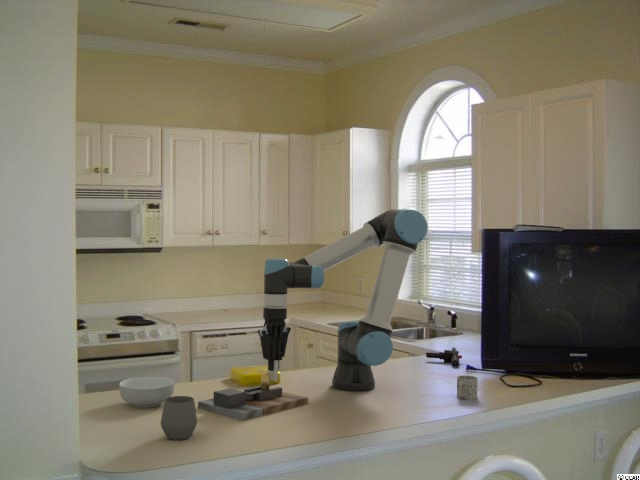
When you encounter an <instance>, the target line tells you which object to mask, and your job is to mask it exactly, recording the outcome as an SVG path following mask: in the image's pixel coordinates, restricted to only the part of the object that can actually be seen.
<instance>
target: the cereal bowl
mask: <svg viewBox="0 0 640 480" xmlns="http://www.w3.org/2000/svg"><path fill="white" fill-rule="evenodd" d="M118 390H119V391H118V392H119V395H120V397H121V399H122V400H123V401H125V402H126V403H128V404H132V405H134V406H135V407H137V408H153V407H158V406H160V404H161V403H164V402H165V399H166V398H169V397H172V395H173V393H174V390H175V380H173V379H172V378H170V377H165V376H139V377H132V378H127V379H124V380H121V381H120V382H119V384H118Z"/></svg>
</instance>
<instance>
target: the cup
mask: <svg viewBox="0 0 640 480" xmlns="http://www.w3.org/2000/svg"><path fill="white" fill-rule="evenodd" d="M197 424H198V418H197V411H196V404H195V398H194V397H191V396H186V395H175V396H171V397H169V398H166V399H165V401H164V402H163V408H162V412H161V420H160V426H161V429H162V431H163V433H164V435H165V436H166V438H167V439H170V440H172V441H173V440H174V441H175V440H176V441H177V440H178V441H181V440H186V439H189V438H191V436H192V435H193V433H194V431H195V429H196V427H197Z"/></svg>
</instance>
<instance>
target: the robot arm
mask: <svg viewBox="0 0 640 480" xmlns="http://www.w3.org/2000/svg"><path fill="white" fill-rule="evenodd" d="M427 234H428V222H427V219H426V217H425V216H424V214H423V213H421V212H420V211H419V210H417V209H414V208H410V207H406V208H398V209H397V208H395V209H393V208H392V209H389V210H385V211H384V212H383V213H381V214H379V215H377V216H375V217H373V218H372V219H370V220H368V221H367V222H364V223H363V225H362V227H361V228H358V229H357V230H355V231H353V232H351V233H349V234H347V235H344V236H343V237H340V238H339V239H337V240H335V241H333V242H331V243H329V244H327V245H325V246H323V247H322V248H319V249H316V250H315V251H313V252H311V253H309V254H307V255H305V256H304V257H302V258H300V259H297V260H296V261H294V262H289V260H288V259H287V258H267V259H266V260H265V262H264V270H263V271H264V272H263V306H264V307H263V309H262V310H263V314H262V316H263V317H262V318H263V319H264V323H263V327H262V328H261V329H258V330H257V333H258V335H259V338H260V345H261V352H262V358H263V359H265V360H267V366H268V370H269V373H270V380H271V381H278V371H279V370H280V361H282V360H283V358H285V354H286V349H287V344H288V339H289V334H290V333H291V329H292V328H291V327H288V326H287V325H286V321H285V320H286V319H287V316H288V315H287V314H288V310H287V309H288V308H287V306H288V289H311V290H313V289H321V288H323V286H324V282H325V272H326V271H327V270H329V269H330V268H333V267H335V266H337V265H339V264H341V263H342V262H345V261H347V260H348V259H350V258H353V257H354V256H356V255H359V254H360V253H362V252H364V251H366V250H368V249H370V248H372V247H373V248H378V247H380V246H382V245H383V247H384V252H383V255H382V257H381V262H380V265H379V268H378V271H377V272H378V273H377V276H376V279H375V282H374V285H373V289H372V293H371V295H370V296H371V297H370V300H369V303H368V306H367V309H366V313H365V316H364V317H362V318H360V319H359V320H358V321H341V322H340V323H339V324H338V325H337V326H338V329H337V364H336V368H335V370H334V373H333V377H332V379H331V380H332V382H331V386H332V387H333V388H334V389H337V390H341V391H348V392H349V391H351V392H352V391H354V392H358V391H359V392H360V391H361V392H363V391H369V390H373V389H374V388H376V380H375V377H374V373H373V369H372V366H373V367H374V366H375V367H377V366H380V365H382V364H384V363H386V362H387V361H388V360H389V359H390V358H391V356H392V354H393V349H394V345H393V342H392V339H391V336H392V334H393V327H392V326H391V322H392V317H393V314H394V310H395V308H396V307H395V306H396V303H397V302H398V301H397V300H398V296H399V294H400V290H401V286H402V283H403V279H404V276H405V274H406V269H407V266H408V263H409V259H410V256H411V255H413V254H415V253H416V251H417V248H418V244H419V243H421V242H422V241H423V240H424V239H425V237H427Z"/></svg>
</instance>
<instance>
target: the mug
mask: <svg viewBox="0 0 640 480" xmlns="http://www.w3.org/2000/svg"><path fill="white" fill-rule="evenodd" d="M456 398H458V399H462V400H476V399H477V398H478V377H476V376H473V375H458V376H457V380H456Z"/></svg>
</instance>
